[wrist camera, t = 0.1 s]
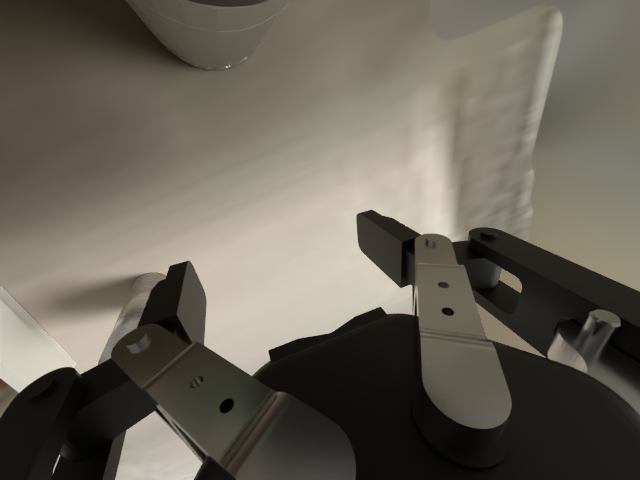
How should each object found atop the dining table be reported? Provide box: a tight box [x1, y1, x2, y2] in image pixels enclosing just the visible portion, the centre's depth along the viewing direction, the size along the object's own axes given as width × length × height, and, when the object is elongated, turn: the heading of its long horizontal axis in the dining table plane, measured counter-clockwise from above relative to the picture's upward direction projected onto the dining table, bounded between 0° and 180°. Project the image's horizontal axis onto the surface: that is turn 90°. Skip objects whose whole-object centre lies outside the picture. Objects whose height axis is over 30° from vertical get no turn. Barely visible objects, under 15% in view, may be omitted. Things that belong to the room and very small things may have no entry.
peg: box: [98, 273, 166, 365], centre depth 24 cm, size 4×4×10 cm
